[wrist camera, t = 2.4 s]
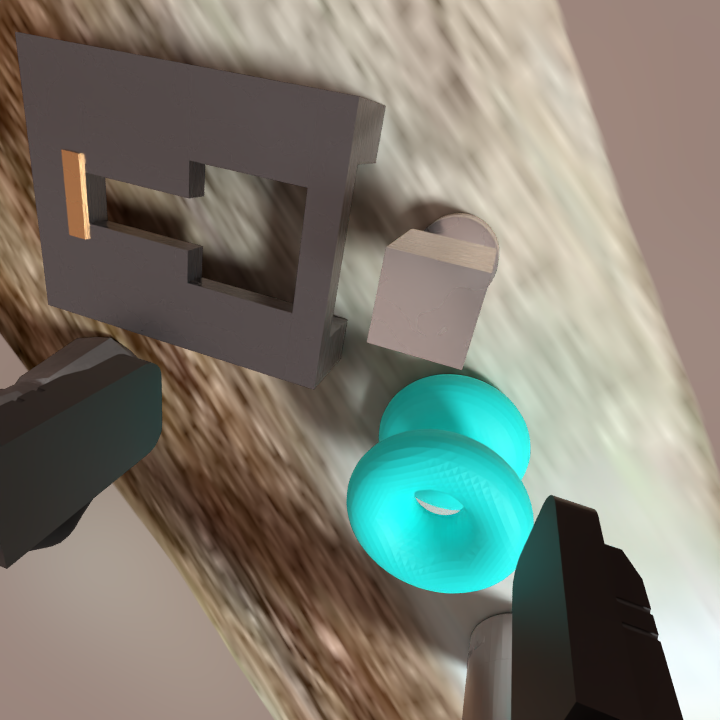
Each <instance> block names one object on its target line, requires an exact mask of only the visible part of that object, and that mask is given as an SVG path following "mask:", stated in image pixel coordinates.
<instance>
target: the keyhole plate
mask: <svg viewBox="0 0 720 720" xmlns="http://www.w3.org/2000/svg"><path fill="white" fill-rule="evenodd" d="M15 35H16V44H17V52H18V60H19V68H20V76H21V85H22V93H23V101H24V109H25V117H26V125H27V134H28V142H29V150H30V158H31V166H32V175H33V183H34V191H35V199H36V207H37V216H38V224H39V232H40V240H41V248H42V257H43V265H44V273H45V281H46V289H47V297H48V305H51V306H54V307H57V308H60V309H63V310H66V311H70V312H73V313H76V314H79V315H82V316H85V317H88V318H91V319H95V320H98V321H101V322H104V323H107V324H110V325H113V326H116V327H120V328H123V329H126V330H129V331H132V332H135V333H138V334H141V335H145V336H148V337H151V338H154V339H157V340H160V341H163V342H166V343H170V344H173V345H176V346H179V347H182V348H185V349H188V350H192V351H195V352H198V353H201V354H204V355H207V356H210V357H213V358H217V359H220V360H223V361H226V362H229V363H232V364H235V365H238V366H242V367H245V368H248V369H251V370H254V371H257V372H260V373H263V374H267V375H270V376H273V377H276V378H279V379H282V380H285V381H288V382H292V383H295V384H298V385H301V386H304V387H307V388H310V389H313V390H314V389H315V388H316V387H317V385H318V384H319V383H320V382H321V381H322V380H323V378H324V377H325V376H326V375H327V374H328V373H329V372H330V370H331V369H332V368H333V367H334V366H335V365H336V363H337V362H338V361H339V360H340V359H341V354H342V348H343V342H344V337H345V331H346V326H347V320H346V319H343V318H339V317H336V316H333V313H334V307H335V301H336V295H337V289H338V282H339V276H340V270H341V264H342V258H343V252H344V246H345V240H346V233H347V227H348V221H349V215H350V209H351V203H352V197H353V190H354V184H355V178H356V172H357V166H358V164H370V163H376V158H377V152H378V146H379V141H380V135H381V130H382V124H383V118H384V113H385V107H386V106H384V105H382V104H379V103H376V102H373V101H371V100H368V99H365V98H362V97H359V96H354V95H349V94H344V93H338V92H333V91H328V90H322V89H317V88H312V87H306V86H301V85H296V84H290V83H285V82H280V81H275V80H269V79H264V78H259V77H253V76H248V75H243V74H237V73H232V72H227V71H221V70H216V69H211V68H205V67H200V66H195V65H190V64H184V63H179V62H174V61H168V60H163V59H158V58H152V57H147V56H142V55H136V54H131V53H126V52H120V51H115V50H110V49H105V48H99V47H94V46H89V45H83V44H78V43H73V42H67V41H62V40H57V39H51V38H46V37H41V36H35V35H30V34H25V33H20V32H15ZM205 164H207V165H212V166H216V167H220V168H224V169H229V170H233V171H237V172H242V173H246V174H250V175H255V176H259V177H263V178H267V179H272V180H276V181H280V182H285V183H289V184H293V185H298V186H302V187H306V188H308V189H307V197H306V205H305V214H304V222H303V230H302V238H301V246H300V255H299V263H298V271H297V279H296V287H295V296H294V303H290V302H287V301H283V300H280V299H276V298H273V297H269V296H266V295H262V294H259V293H255V292H252V291H248V290H245V289H241V288H238V287H234V286H231V285H227V284H223V283H220V282H216V281H213V280H209V279H206V278H202V252H203V246H200V245H196V244H192V243H189V242H185V241H181V240H177V239H174V238H170V237H166V236H163V235H159V234H155V233H152V232H148V231H144V230H140V229H137V228H133V227H129V226H126V225H122V224H118V223H115V222H111V221H108V219H107V202H106V185H105V177H106V178H110V179H114V180H118V181H122V182H126V183H130V184H134V185H138V186H142V187H146V188H150V189H154V190H158V191H162V192H166V193H170V194H174V195H178V196H182V197H186V198H194V197H202V196H204V184H205Z"/></svg>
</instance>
